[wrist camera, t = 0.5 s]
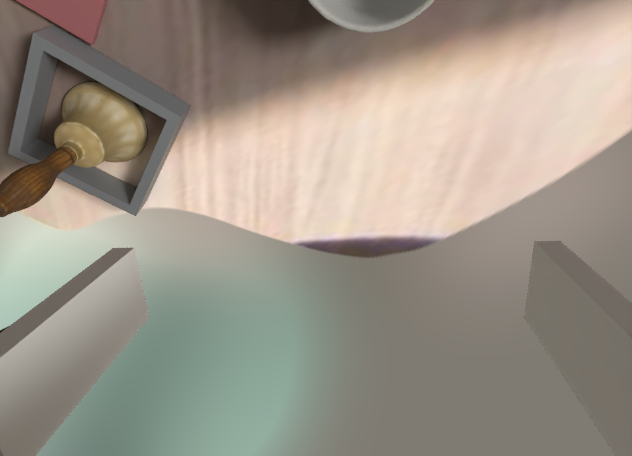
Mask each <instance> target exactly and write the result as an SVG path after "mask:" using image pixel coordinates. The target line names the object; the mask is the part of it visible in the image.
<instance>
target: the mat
mask: <svg viewBox="0 0 632 456" xmlns="http://www.w3.org/2000/svg"><path fill="white" fill-rule="evenodd" d="M16 1H18V2H20V3H21V4H23V5H25V6H26V7H28V8H30V9H32V10H33V11H35V12H37V13H38V14H40V15H42V16H44V17H45V18H47V19H49V20H50V21H52V22H54V23H56V24H57V25H59V26H61V27H62V28H64V29H66V30H67V31H69V32H71V33H73V34H74V35H76V36H78V37H79V38H81V39H83V40H85V41H86V42H88V43H90V44H91V45H92V44H94V43H95V40H96V37H97V33H98V30H99V26H100V23H101V20H102V16H103V13H104V10H105V6H106V3H107V0H16Z"/></svg>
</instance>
